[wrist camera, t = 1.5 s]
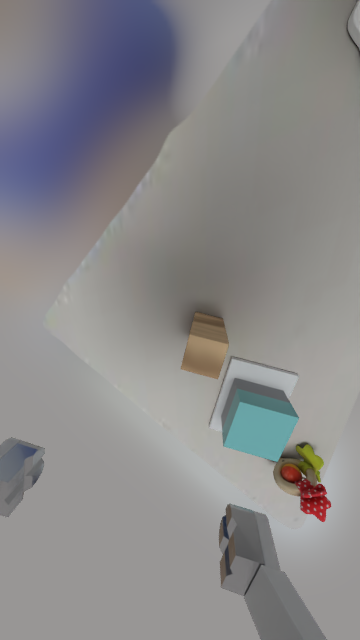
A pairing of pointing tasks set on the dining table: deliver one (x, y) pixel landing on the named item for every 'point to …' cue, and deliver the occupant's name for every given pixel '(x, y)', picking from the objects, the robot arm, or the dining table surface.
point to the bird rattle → (308, 489)
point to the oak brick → (206, 346)
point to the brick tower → (255, 409)
